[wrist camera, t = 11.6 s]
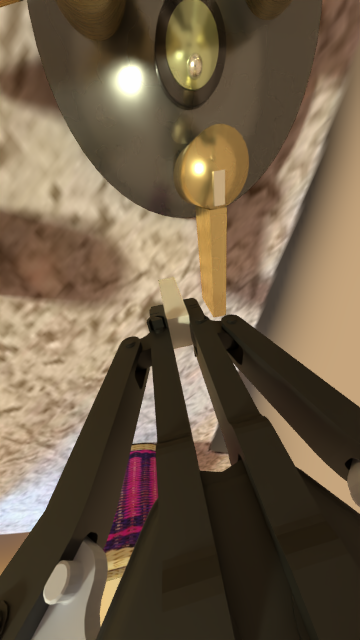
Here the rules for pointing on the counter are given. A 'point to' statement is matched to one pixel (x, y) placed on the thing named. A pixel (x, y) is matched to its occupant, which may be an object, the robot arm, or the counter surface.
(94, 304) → the counter surface
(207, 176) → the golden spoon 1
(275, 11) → the measuring cup
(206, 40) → the levelling plate
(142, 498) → the basket
